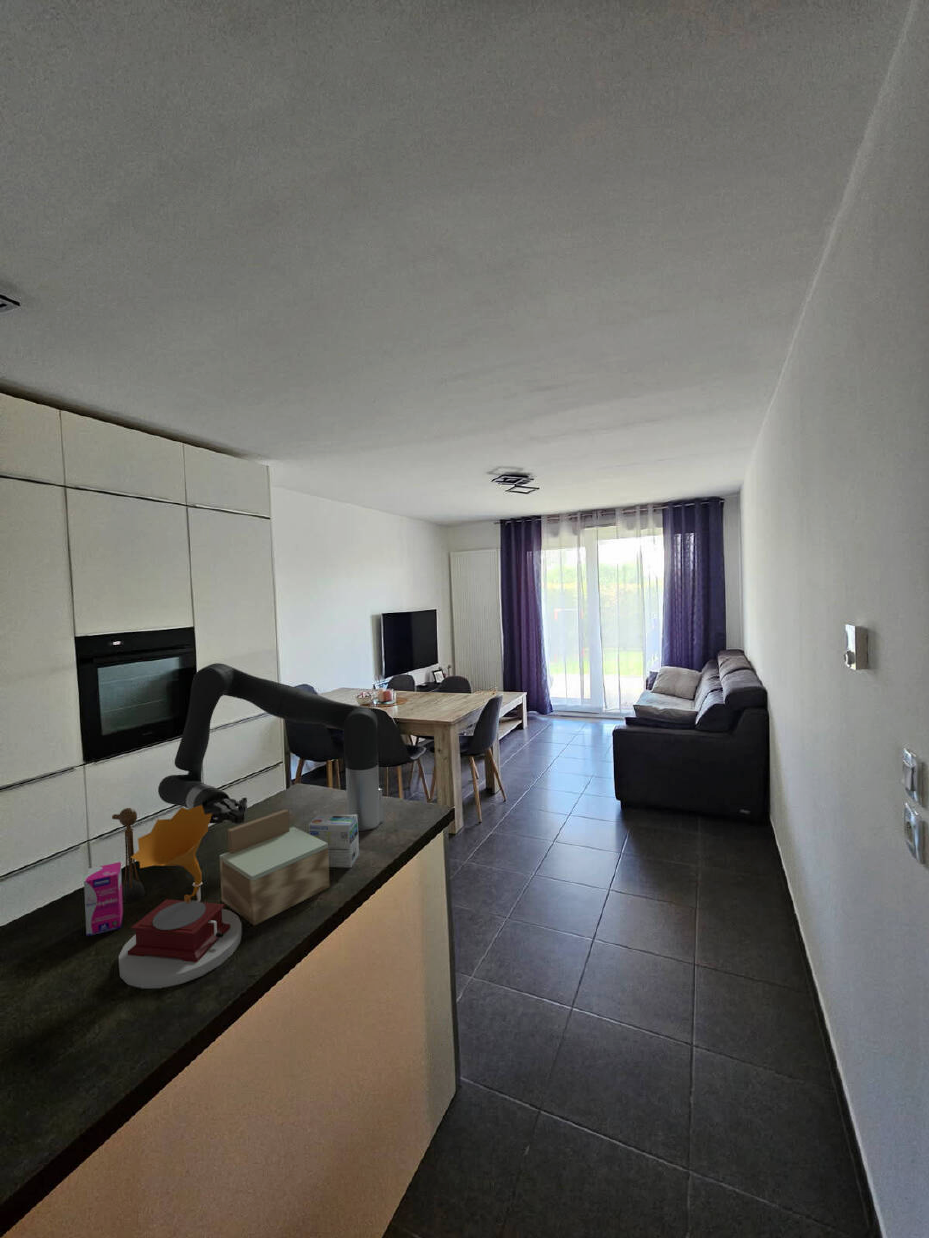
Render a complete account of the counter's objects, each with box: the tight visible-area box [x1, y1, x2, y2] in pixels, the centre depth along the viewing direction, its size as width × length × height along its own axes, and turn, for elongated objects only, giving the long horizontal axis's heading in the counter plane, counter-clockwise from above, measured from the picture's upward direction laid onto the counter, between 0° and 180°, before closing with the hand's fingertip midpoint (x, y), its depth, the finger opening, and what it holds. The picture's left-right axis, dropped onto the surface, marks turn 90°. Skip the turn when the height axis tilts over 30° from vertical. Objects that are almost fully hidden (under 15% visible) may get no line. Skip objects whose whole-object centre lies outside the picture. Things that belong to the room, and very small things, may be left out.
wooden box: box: [219, 848, 330, 926], centre depth 119 cm, size 18×14×9 cm
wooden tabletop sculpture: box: [111, 807, 146, 903], centre depth 119 cm, size 6×5×20 cm
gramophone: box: [118, 805, 243, 989], centre depth 100 cm, size 20×20×25 cm
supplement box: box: [83, 862, 124, 937], centre depth 108 cm, size 6×6×12 cm
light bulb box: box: [307, 813, 360, 869], centre depth 133 cm, size 11×7×11 cm, turn 84°
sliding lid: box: [219, 809, 328, 881], centre depth 118 cm, size 18×14×6 cm
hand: (240, 819), depth 128 cm, fingers closed
